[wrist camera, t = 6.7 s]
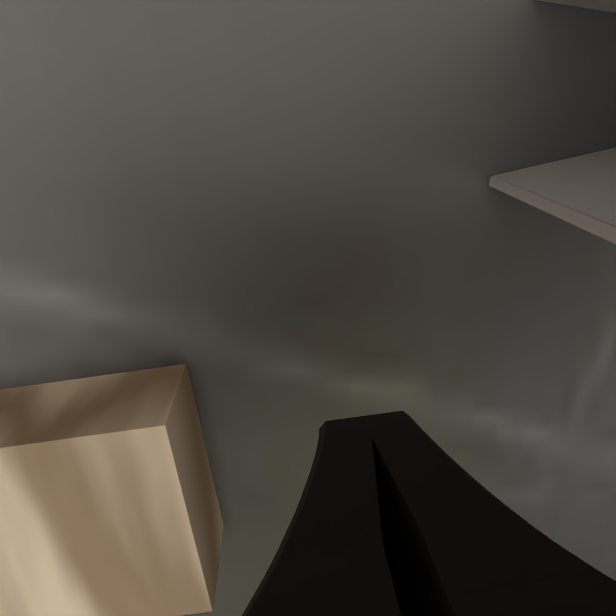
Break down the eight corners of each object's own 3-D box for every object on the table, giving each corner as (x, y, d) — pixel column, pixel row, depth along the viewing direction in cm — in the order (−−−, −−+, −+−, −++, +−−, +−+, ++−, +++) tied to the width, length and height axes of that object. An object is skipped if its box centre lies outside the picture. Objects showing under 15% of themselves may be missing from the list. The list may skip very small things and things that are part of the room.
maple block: (165, 425, 16) (-188, 473, 16) (212, 611, 19) (-94, 652, 19) (186, 362, 20) (-100, 402, 20) (224, 524, 23) (-32, 559, 23)
